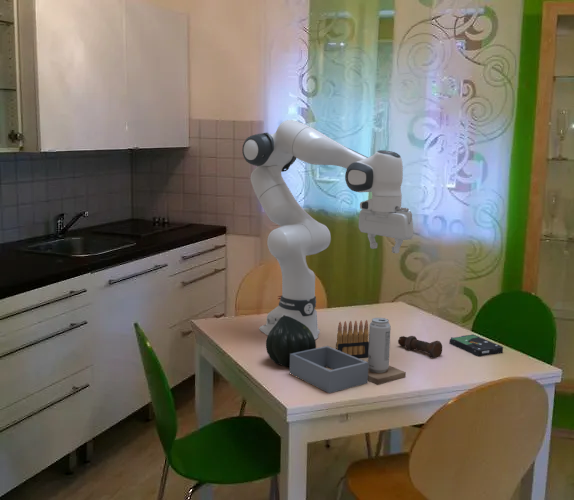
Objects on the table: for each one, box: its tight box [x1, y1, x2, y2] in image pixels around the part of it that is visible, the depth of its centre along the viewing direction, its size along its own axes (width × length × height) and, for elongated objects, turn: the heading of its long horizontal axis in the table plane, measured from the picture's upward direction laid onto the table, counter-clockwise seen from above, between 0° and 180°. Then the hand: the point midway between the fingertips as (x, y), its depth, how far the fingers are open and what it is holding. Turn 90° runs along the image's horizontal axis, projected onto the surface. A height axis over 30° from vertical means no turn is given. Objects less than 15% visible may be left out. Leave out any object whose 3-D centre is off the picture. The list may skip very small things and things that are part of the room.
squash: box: [265, 315, 317, 367], centre depth 206 cm, size 14×15×15 cm
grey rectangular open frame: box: [289, 345, 369, 394], centre depth 193 cm, size 18×14×6 cm
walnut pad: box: [368, 365, 407, 386], centre depth 197 cm, size 11×11×2 cm
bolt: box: [397, 335, 443, 359], centre depth 219 cm, size 6×5×15 cm
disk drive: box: [449, 334, 504, 358], centre depth 224 cm, size 10×3×15 cm
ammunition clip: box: [335, 319, 369, 359], centre depth 211 cm, size 11×2×12 cm, turn 107°
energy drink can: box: [367, 317, 392, 373], centre depth 195 cm, size 6×6×15 cm
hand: (384, 250), depth 206 cm, fingers open, 8 cm apart
